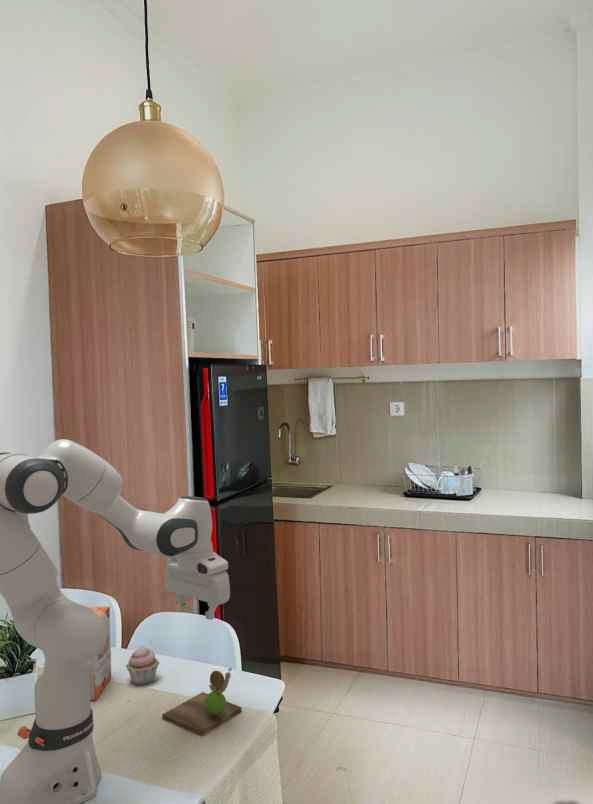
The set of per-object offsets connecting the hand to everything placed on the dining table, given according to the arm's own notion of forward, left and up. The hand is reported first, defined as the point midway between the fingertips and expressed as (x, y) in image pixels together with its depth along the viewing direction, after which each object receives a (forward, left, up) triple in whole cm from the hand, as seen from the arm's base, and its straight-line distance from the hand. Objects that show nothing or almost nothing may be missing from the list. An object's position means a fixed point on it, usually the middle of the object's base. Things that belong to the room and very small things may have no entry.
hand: (196, 614), depth 165 cm
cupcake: (+4, +27, -26) cm, 38 cm away
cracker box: (-7, +34, -26) cm, 44 cm away
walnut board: (0, -1, -26) cm, 26 cm away
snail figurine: (0, -5, -24) cm, 25 cm away
